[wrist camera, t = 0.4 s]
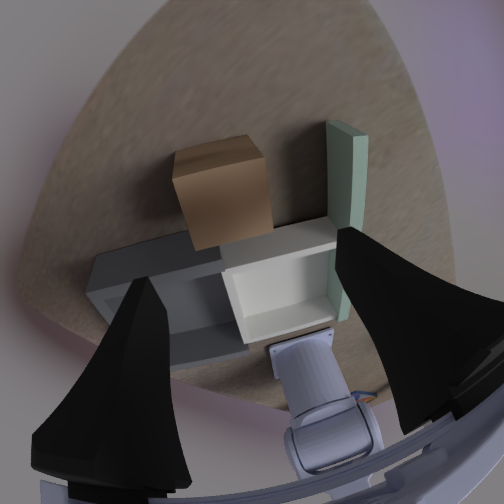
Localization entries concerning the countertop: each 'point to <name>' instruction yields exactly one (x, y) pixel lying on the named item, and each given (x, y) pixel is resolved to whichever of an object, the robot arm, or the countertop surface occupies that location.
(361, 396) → the smartphone
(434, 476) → the robot arm
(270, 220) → the walnut block
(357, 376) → the countertop surface
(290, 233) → the box with green panel
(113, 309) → the gray open box
